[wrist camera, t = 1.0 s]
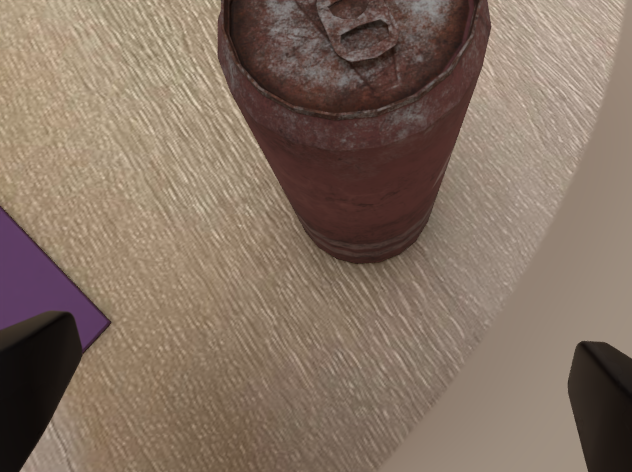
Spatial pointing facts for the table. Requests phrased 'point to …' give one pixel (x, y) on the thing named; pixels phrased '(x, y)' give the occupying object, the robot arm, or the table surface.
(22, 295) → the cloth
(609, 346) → the robot arm
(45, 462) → the table surface
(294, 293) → the table surface
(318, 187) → the can
